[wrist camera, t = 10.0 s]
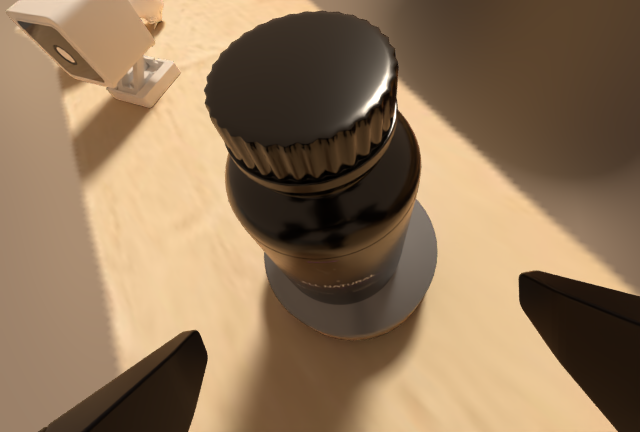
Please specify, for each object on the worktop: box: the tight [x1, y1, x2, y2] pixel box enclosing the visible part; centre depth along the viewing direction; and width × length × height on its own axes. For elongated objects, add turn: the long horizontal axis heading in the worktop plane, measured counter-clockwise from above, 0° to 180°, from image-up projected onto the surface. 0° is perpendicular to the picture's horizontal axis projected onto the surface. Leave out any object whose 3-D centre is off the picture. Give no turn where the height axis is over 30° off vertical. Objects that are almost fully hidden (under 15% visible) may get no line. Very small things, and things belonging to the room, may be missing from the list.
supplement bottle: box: [204, 11, 421, 305], centre depth 13 cm, size 7×7×12 cm
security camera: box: [6, 0, 181, 108], centre depth 28 cm, size 6×7×10 cm
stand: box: [264, 200, 437, 340], centre depth 19 cm, size 10×10×3 cm
